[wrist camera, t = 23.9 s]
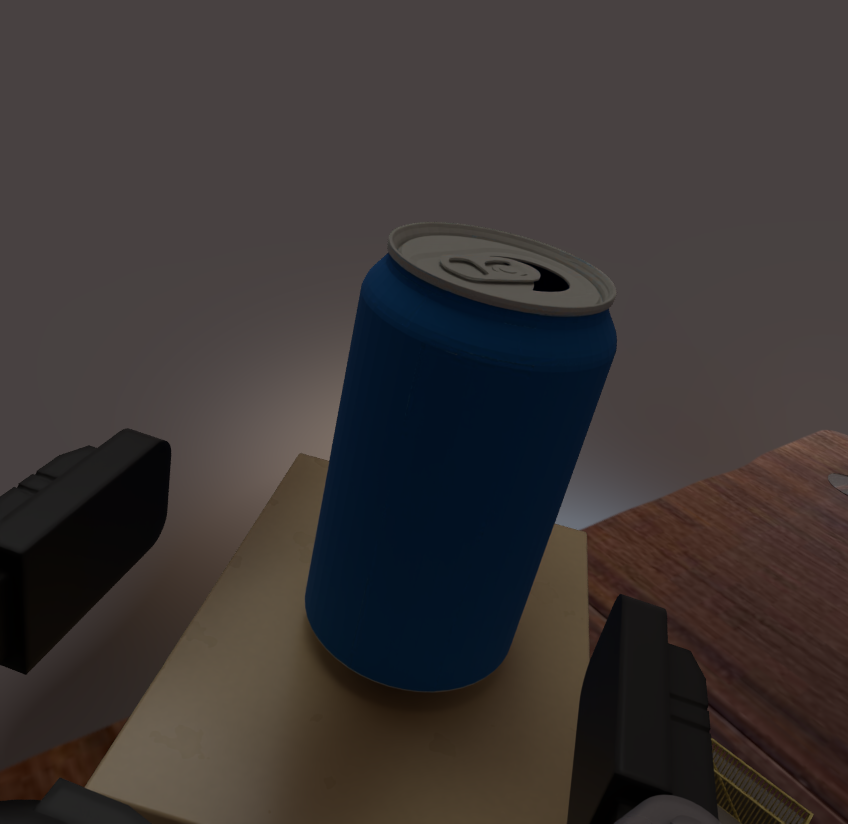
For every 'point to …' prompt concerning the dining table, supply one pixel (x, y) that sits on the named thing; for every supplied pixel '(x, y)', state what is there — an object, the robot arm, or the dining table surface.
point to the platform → (749, 796)
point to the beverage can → (453, 449)
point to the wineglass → (839, 482)
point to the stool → (348, 705)
